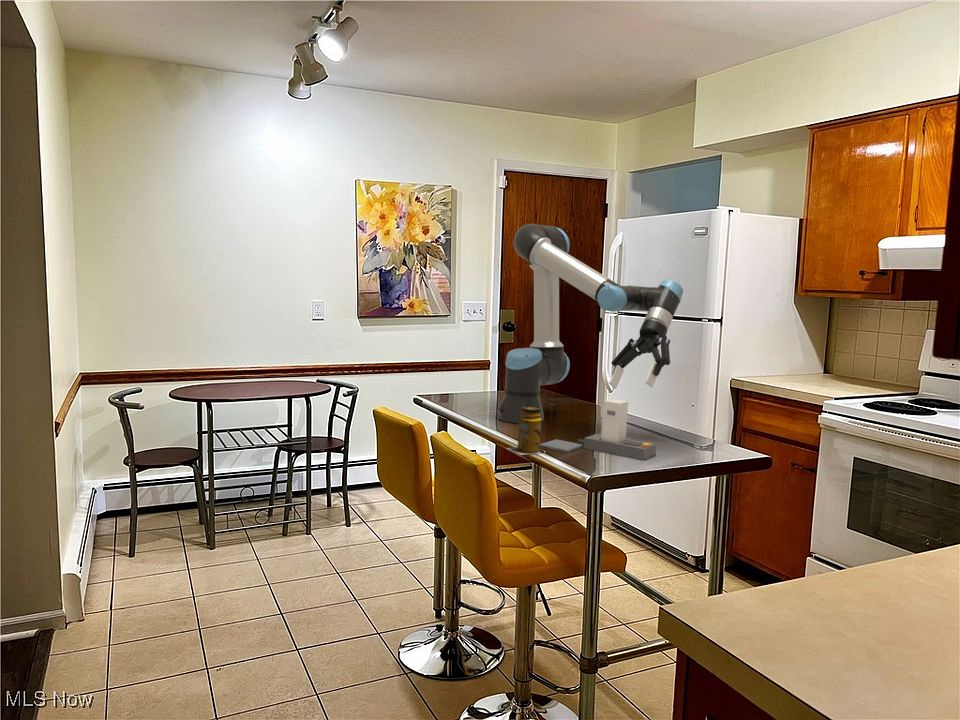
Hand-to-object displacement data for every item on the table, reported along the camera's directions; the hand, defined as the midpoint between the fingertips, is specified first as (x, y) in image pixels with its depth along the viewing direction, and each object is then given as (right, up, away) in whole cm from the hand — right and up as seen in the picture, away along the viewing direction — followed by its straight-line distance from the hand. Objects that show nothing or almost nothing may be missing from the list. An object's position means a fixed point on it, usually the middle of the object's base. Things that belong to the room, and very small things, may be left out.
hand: (629, 385), depth 204 cm
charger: (-6, -16, -4) cm, 17 cm away
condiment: (-30, -18, -8) cm, 36 cm away
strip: (-6, -18, -4) cm, 19 cm away
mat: (-20, -17, -2) cm, 26 cm away
